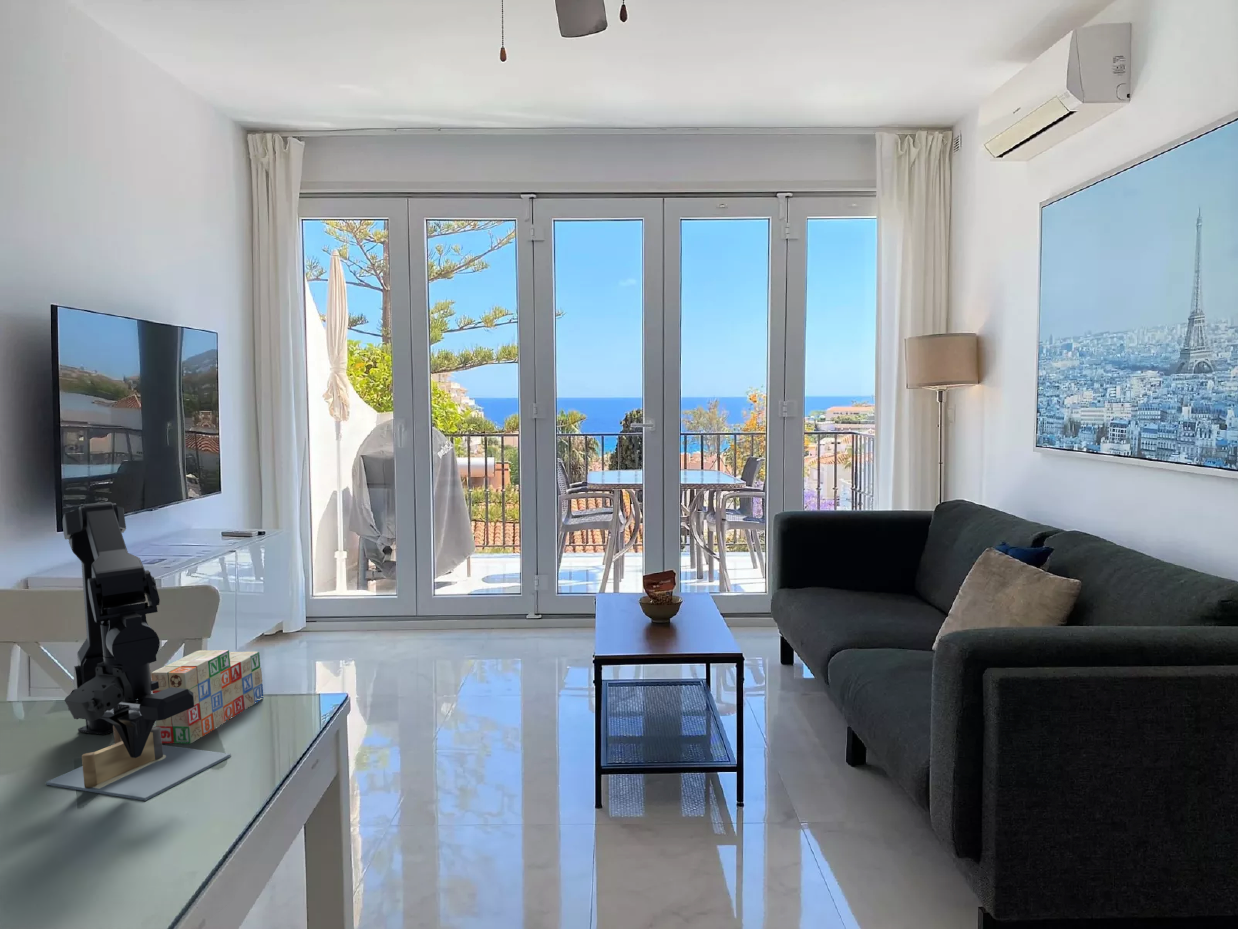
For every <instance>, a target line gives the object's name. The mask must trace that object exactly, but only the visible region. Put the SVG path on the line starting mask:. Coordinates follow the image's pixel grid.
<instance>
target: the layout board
mask: <svg viewBox="0 0 1238 929" xmlns="http://www.w3.org/2000/svg"><path fill="white" fill-rule="evenodd" d="M162 751H163V757H162V758H160V759H156V760H153V761H151V762H148V763H146V764H144V765H141V766H139V767H137V768H134V769H132V770H130V771H127V772H125V773H123V774H120V775H118V776H116V777H113V778H111V779H109V780H106V781H104V782H102V783H99V784H97V785H96V786H94V787H90V788H85V786H84V776H83V766H79V767H77V768H75V769H73V770H70V771H68V772H66V773H63V774H61V775H59V776H57V777H54V778H52V779H49V780H48V781H45V784H46V786H47V785H48V786H52V787H58V788H65V789H71V790H78V791H83V792H89V793H96V794H101V795H109V796H113V797H115V796H116V797H119V798H127V799H133V800H139V801H144V802H145V801H148V800H150V799H151V798H153V797H156V796H157V795H159V794H161V793H163V792H165V791H168V790H169V789H171V788H173V787H174V786H177V785H178V784H181V783H182V782H185V781H187V780H188V779H190V778H192V777H194V776H196V775H197V774H200V773H202V772H203V771H205V770H208V769H209V768H211V767H213V766H215V765H217V764H220V763H221V762H222V761H225V760H226V759H229V758H230V757H232V754H231V753H227V752H219V751H211V750H203V749H198V748H197V749H195V748H189V747H182V746H181V747H180V746H173V745H164V744H162Z"/></svg>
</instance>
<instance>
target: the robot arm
mask: <svg viewBox="0 0 1238 929" xmlns="http://www.w3.org/2000/svg"><path fill="white" fill-rule="evenodd" d="M125 517H126V516H125V509H124V507H122V506H117V503H116V502H111V501H108V502H107V501H105V502H95V503H87V504H86V503H85V504H83V506H82V505H81V506H79V507H78V508H77V509H73V510H70V511H68V512H66V513H64V514H63V518H62V529H63V531H62V532H63V536H64V540H68V544H69V547H70V549H71V551H72V552H73V554H74V555H75V556H76V557H77V559H78V560H80V562H81V573H82V574H81V576H82V589H83V602H84V603H83V605H84V616H85V618H84V619H85V629H86V630H85V631H86V632H85V633H86V639H84V642H83V643H82V644H81V647H80V648H79V650H78V651H77V652H76V654H77V658H76V659H77V665H74V666H73V689H72V691H71V692H70V693H69V695H67V696H66V697H65V699H64V703H65V705H66V706H67V708H68V711H69V712H70V714H71V716H72V718H73V719H74V720H79V719H81V720H85V725H84V726H81V727H79V728H77V732H78V733H86V734H94V735H102V736H104V735H107V734H110V733H112V732H113V725H114V727H115V728H116V730H117V732H118V733H119V735H120V737H121V739H122V741H123V743H124V745H125V747H126V749H127V751H128V753H129V755H130V757H131V758H137V757H139V756H141V754H142V752H143V749H144V747H145V744H146V742H147V739H148V737H149V734H150V732H151V730H152V727H154V725H155V724H156V720H157V721H159V720H165V719H167V718H169V717H172V716H174V715H176V714H179V713H181V712H183V711H186V710H188V709H190V708H193V707H194V695H193V692H191V691H190V690H189V689H184V688H173V687H170V688H167V689H165V690H162V691H159V692H157V693H153V690H155V689H158V688H159V682H158V681H152V675H151V673H152V672H151V664H152V663H154V662H155V663H156V662H157V654H158V652H159V650H160V645H161V644H160V643H161V642H160V638H159V636H158V633H157V632H156V631H155V630H154V628H153V627H151V626H150V625H149V623H148V620H147V617H146V616H147V615H150V614H154V613H158V606H159V605H160V602H161V600H160V595H159V592H158V588H157V584H156V580H155V577H154V576H152V575H151V571H149V569H147V570H145V566H144V564H143V562H142V560H141V558H140V557H139V556H136V555H134V554H131V553H129V551H128V549H127V544H126V542H125V540H124V536H123V534H124V533H125V531H126V529H127V525H126V518H125ZM146 598H147V601H146Z"/></svg>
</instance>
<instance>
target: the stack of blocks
mask: <svg viewBox="0 0 1238 929" xmlns="http://www.w3.org/2000/svg"><path fill="white" fill-rule="evenodd" d="M262 672H263V671H262V667H261V658H260V651H230V650H229V649H221V650H220V649H216V650H214V649H213V650H204V649H203V650H195V651H193V652H192V653H190V654H188V655H185V656H184V657H181V658H179V659H177V660H175V661H173V662H171V663H169V664H167V665H165V666H162V667H160V668H157V669H156V670H154V671H152V672H151V681H158V682H159V688H158V689H155V690H153V691H152V693H157V692H159V691H162V690H165V689H167V688H170V687H173V688H184V689H189V690H190V691H191V692H193V695H194V707H193V708H190V709H188V710H186V711H183V712H181V713H179V714H176V715H174V716H172V717H169V718H167V719H165V720H159V721H157V720H156V721H155V725H156V726H155V727H160V728H161V740H162V744H188V745H189V744H192V743H195V741H197V740H199V739H200V737H201V738H202V737H204V736H206V735H207V734H209V733H211V732H213V731H214V730H216V729H217V728H216V727H218V728H219V727H221V726H222V725H224V724H225V723H226V722H225V721H226V720H228V721H230V720H231V719H232V718H231V717H233V718H234V717H236V716H237V714H238V715H239V714H241V713H243V712H244V711H247V710H248V709H249V708H251V707H252V706H254V705H256V704H257V703H259V702H261V701H260V700H257V699H260V698H263V699H264V697H265V696H264V688H263V673H262ZM261 696H264V697H261ZM258 701H259V702H258ZM255 702H257V703H255ZM253 704H254V705H253ZM250 706H251V707H250ZM248 707H249V708H248ZM243 710H244V711H243ZM240 712H241V713H240ZM235 715H236V716H235ZM230 718H231V719H230ZM229 719H230V720H229ZM223 723H224V724H223ZM221 724H222V725H221ZM220 725H221V726H220ZM215 728H216V729H215ZM212 730H213V731H212ZM210 731H211V732H210ZM205 734H206V735H205Z"/></svg>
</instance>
